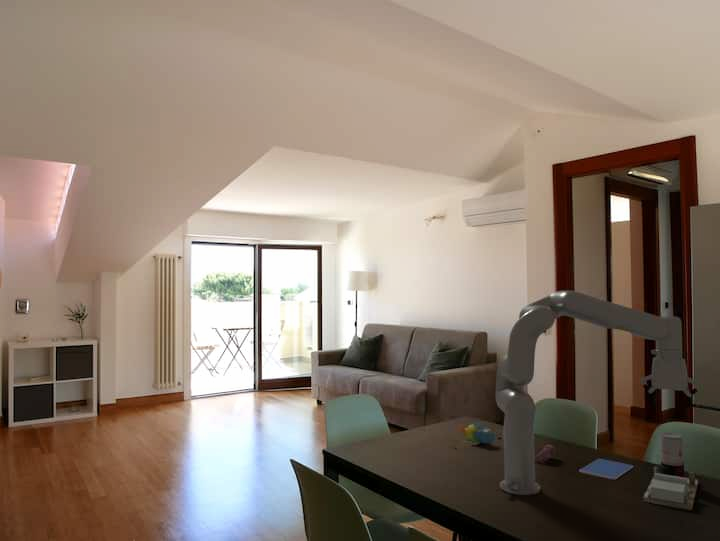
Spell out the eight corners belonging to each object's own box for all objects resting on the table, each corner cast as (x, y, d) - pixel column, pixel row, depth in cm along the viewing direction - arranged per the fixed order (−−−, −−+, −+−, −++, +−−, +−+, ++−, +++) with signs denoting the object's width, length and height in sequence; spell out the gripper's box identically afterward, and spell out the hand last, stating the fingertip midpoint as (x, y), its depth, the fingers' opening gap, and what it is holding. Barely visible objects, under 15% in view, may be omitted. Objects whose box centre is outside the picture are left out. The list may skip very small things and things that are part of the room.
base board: (691, 510, 155) (691, 493, 156) (643, 501, 163) (642, 485, 163) (698, 483, 177) (697, 468, 178) (655, 476, 185) (654, 462, 185)
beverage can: (676, 478, 179) (674, 432, 179) (689, 485, 172) (687, 437, 173) (657, 479, 178) (655, 433, 179) (669, 485, 172) (666, 438, 173)
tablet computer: (598, 461, 204) (598, 457, 204) (634, 468, 195) (634, 464, 195) (578, 473, 190) (578, 469, 190) (615, 482, 181) (615, 478, 181)
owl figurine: (486, 415, 243) (513, 422, 230) (486, 435, 243) (514, 443, 230) (441, 424, 227) (468, 432, 214) (441, 445, 226) (468, 455, 214)
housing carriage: (683, 503, 157) (682, 487, 157) (651, 497, 162) (650, 482, 162) (686, 493, 165) (685, 477, 165) (655, 487, 170) (654, 472, 170)
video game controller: (543, 468, 199) (551, 452, 198) (532, 460, 202) (540, 445, 200) (551, 461, 207) (559, 446, 206) (540, 454, 210) (548, 439, 208)
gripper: (637, 353, 179) (639, 405, 178) (699, 357, 169) (700, 412, 168) (641, 351, 185) (642, 402, 185) (700, 354, 175) (702, 408, 175)
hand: (670, 406), depth 176 cm, fingers open, 9 cm apart
